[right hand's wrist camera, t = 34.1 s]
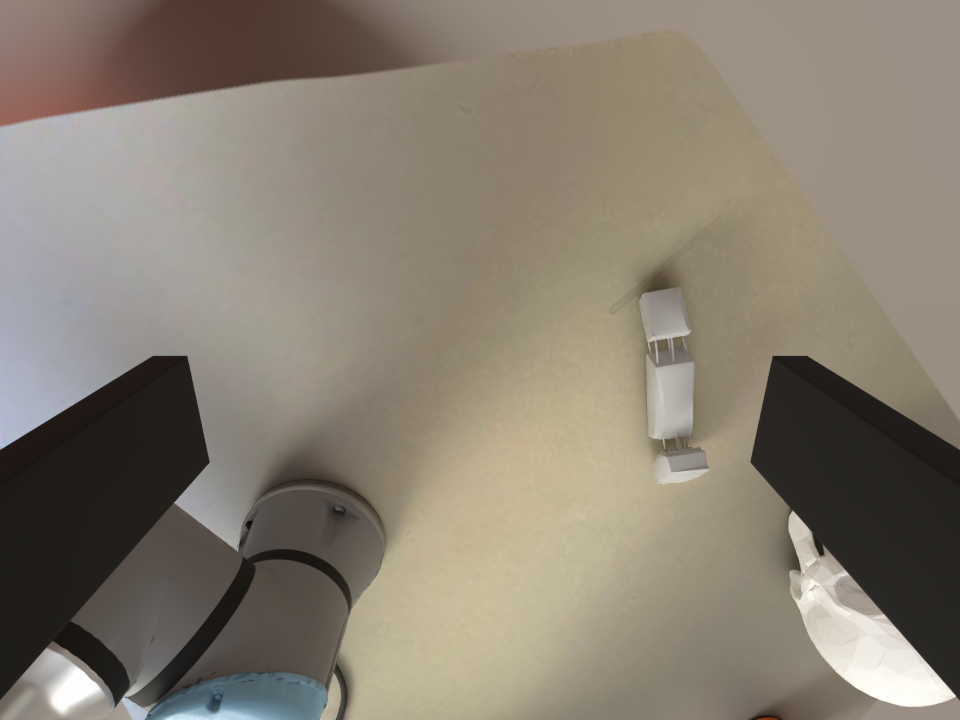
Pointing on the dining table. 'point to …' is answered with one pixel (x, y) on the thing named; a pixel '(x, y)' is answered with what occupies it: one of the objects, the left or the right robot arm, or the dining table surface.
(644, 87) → the dining table surface
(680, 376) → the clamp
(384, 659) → the dining table surface
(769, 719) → the cup with straw
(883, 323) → the dining table surface
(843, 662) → the skull
